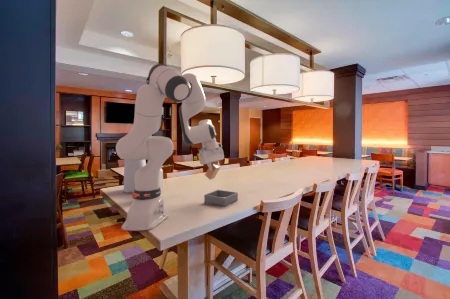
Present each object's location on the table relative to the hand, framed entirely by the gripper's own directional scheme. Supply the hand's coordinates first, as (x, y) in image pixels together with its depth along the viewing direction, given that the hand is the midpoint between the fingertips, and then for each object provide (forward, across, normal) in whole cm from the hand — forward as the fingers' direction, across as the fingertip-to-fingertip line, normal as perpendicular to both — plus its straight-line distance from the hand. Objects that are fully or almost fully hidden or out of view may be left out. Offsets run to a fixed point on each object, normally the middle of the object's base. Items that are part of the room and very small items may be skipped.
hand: (214, 169), depth 138 cm
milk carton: (+9, -8, +48) cm, 49 cm away
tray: (+19, -2, -2) cm, 19 cm away
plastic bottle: (+6, -12, +63) cm, 65 cm away
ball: (+18, -4, -6) cm, 19 cm away
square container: (+4, 0, +5) cm, 6 cm away
